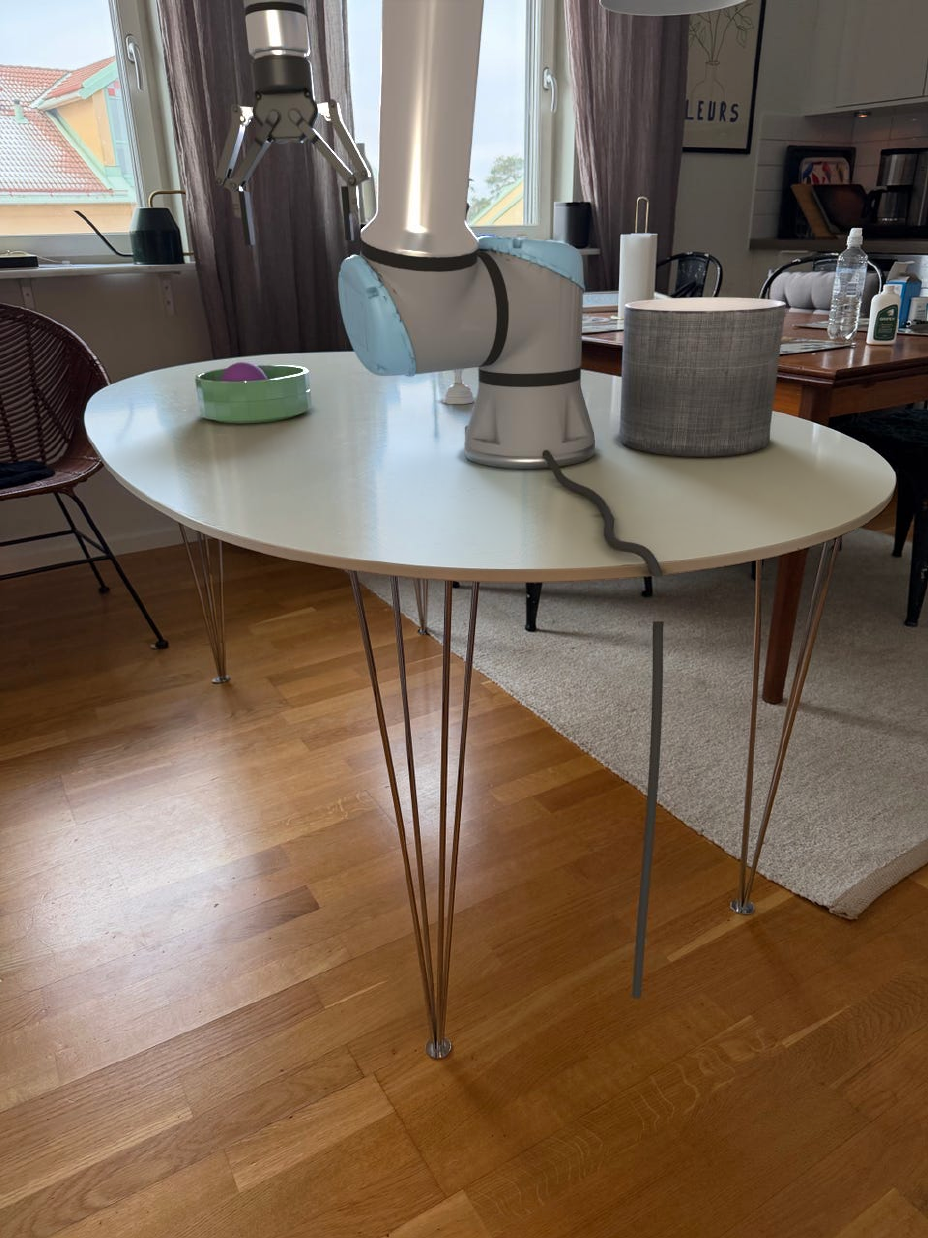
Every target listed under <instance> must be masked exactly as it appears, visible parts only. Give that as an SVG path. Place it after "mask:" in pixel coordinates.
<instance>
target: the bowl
mask: <svg viewBox="0 0 928 1238" xmlns="http://www.w3.org/2000/svg"><path fill="white" fill-rule="evenodd" d="M255 365H256V366H257V367H259V368H260V369H261V370H262V371H263V372H264V374H265V375H266V377H267V380H257V381H239V382H221V377H222V375H223V373H224V371H225V370H226V369H227V368H228V367H225V368H224V367H223V368H218V369H213V370H208V371H204V372H201V373H198V374H197V375H195V376H194V380H195V381H194V382H195V387H196V394H197V400H198V406H199V414H200V417H202V418H204V419H206V420H212V421H213V420H214V421H216V422H220V423H224V424H225V423H226V424H259V423H268V422H270V423H271V422H277V421H281V420H287V419H291V418H294V417H296V416H298V415H300V414H304V413H306V412H308V411H309V410H310V409H312V408H313V403H312V394H311V393H312V392H311V384H310V375H309V369H307V368H306V367H303V366H298V365H290V364H289V365H288V364H261V365H260V364H259V365H257V364H255Z"/></svg>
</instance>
